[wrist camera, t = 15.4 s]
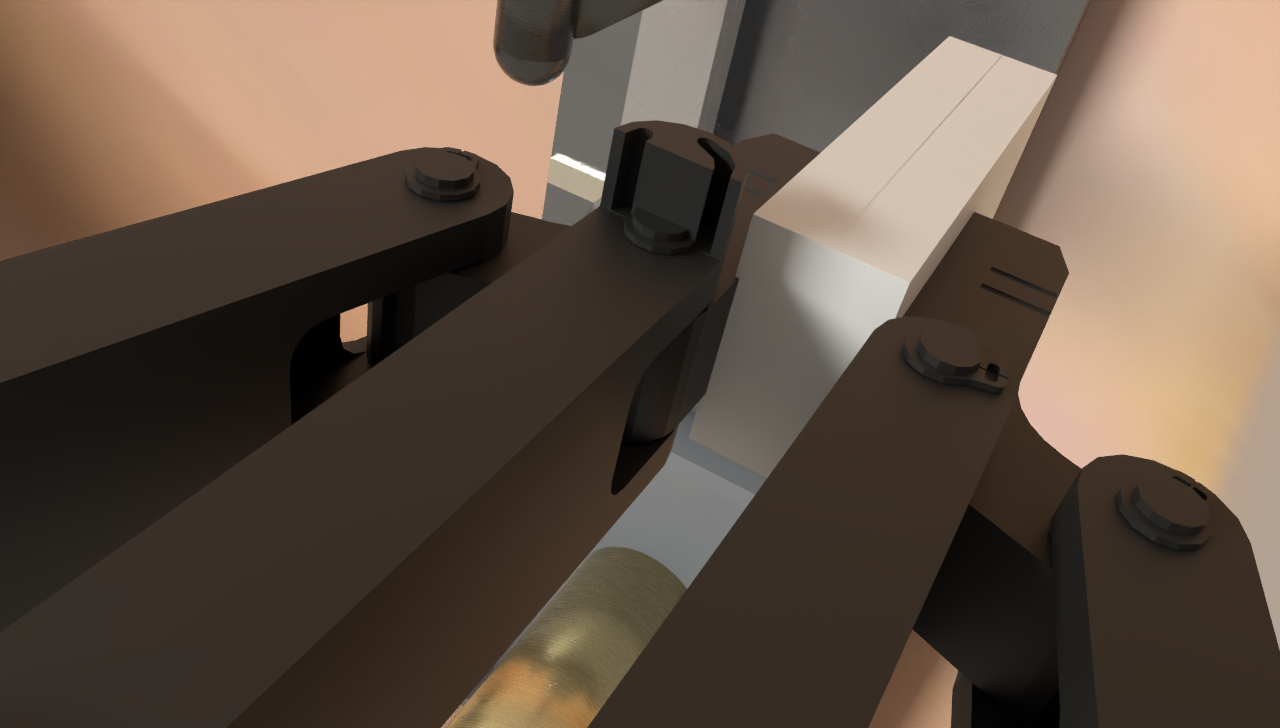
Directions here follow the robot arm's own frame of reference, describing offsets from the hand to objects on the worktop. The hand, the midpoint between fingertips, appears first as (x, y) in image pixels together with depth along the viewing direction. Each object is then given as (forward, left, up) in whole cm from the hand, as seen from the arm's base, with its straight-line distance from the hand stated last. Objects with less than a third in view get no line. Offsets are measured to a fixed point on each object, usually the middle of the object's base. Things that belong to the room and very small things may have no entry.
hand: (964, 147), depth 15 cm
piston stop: (-6, -25, -11) cm, 28 cm away
